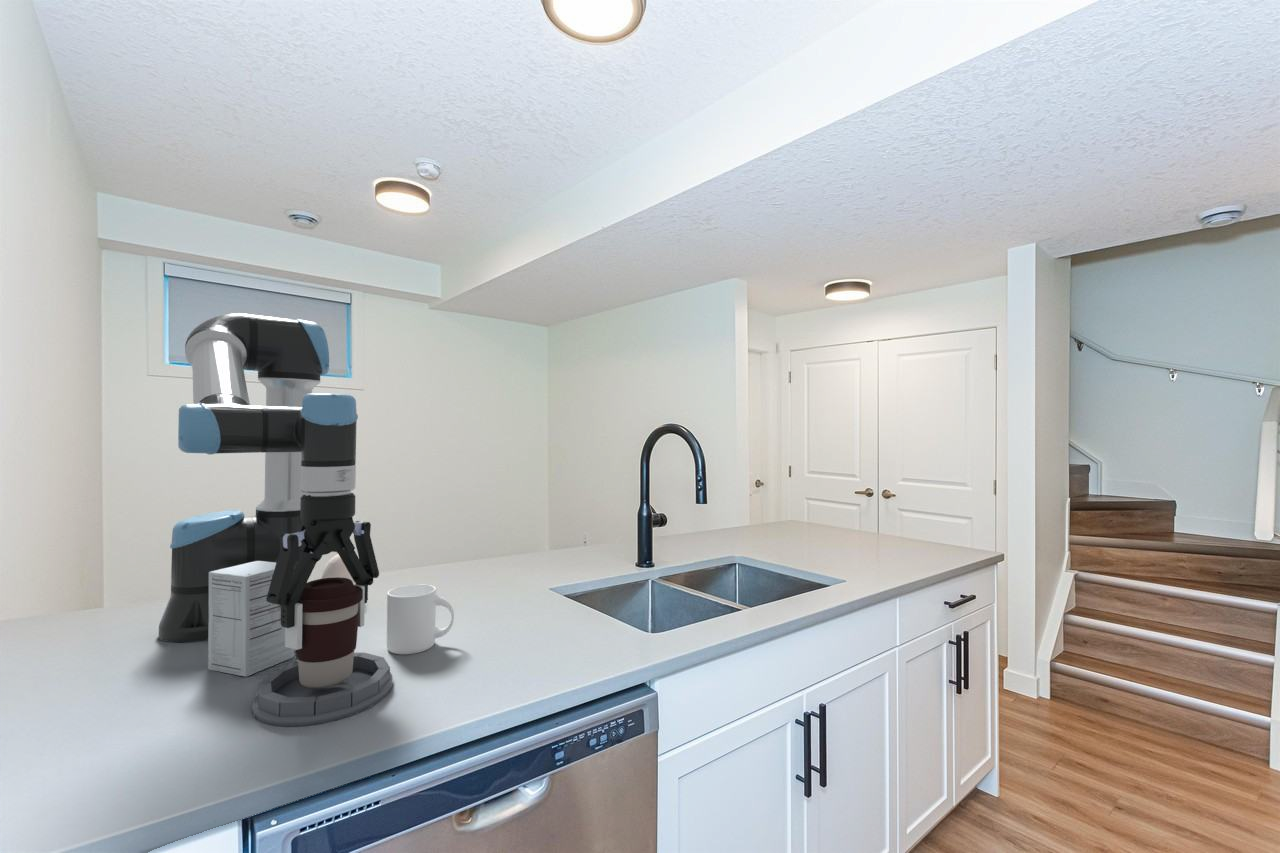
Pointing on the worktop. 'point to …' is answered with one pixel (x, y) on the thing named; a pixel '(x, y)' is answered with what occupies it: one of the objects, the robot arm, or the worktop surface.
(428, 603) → the mug
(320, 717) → the bowl
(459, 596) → the worktop surface
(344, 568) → the egg
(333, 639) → the coffee cup
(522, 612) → the worktop surface
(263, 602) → the supplement box
